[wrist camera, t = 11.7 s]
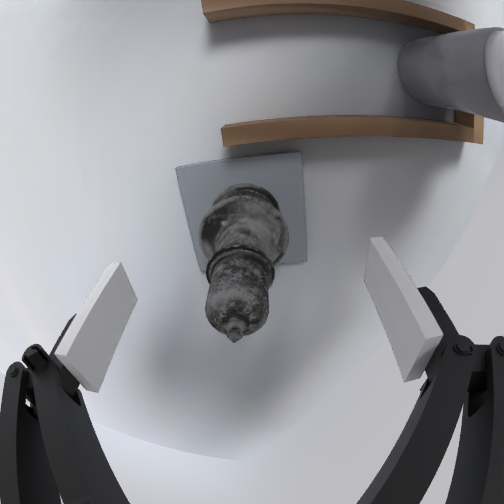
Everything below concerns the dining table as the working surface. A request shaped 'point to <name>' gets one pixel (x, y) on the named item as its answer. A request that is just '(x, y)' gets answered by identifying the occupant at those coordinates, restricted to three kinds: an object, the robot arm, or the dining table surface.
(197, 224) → the coaster
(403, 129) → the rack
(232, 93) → the dining table surface
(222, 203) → the grey chess piece
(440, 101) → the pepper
